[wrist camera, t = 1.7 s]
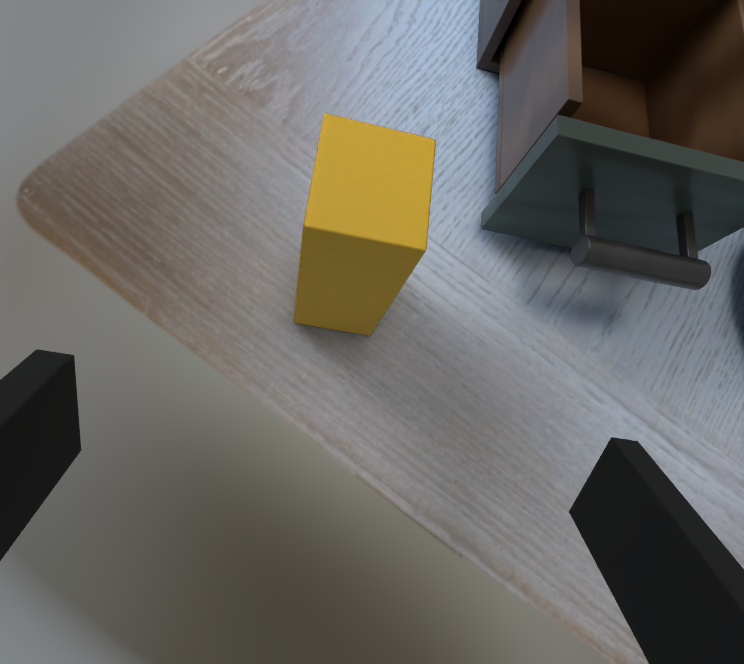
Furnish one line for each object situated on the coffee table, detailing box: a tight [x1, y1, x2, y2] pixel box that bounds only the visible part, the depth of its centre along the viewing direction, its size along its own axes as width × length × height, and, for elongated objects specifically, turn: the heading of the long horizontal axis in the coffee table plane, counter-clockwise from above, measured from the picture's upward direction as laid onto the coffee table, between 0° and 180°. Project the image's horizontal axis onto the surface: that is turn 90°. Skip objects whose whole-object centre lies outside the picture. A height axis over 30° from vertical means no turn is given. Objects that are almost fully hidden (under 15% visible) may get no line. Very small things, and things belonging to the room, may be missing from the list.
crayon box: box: [294, 114, 436, 336], centre depth 23 cm, size 4×5×11 cm
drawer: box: [481, 0, 744, 290], centre depth 28 cm, size 20×13×9 cm
